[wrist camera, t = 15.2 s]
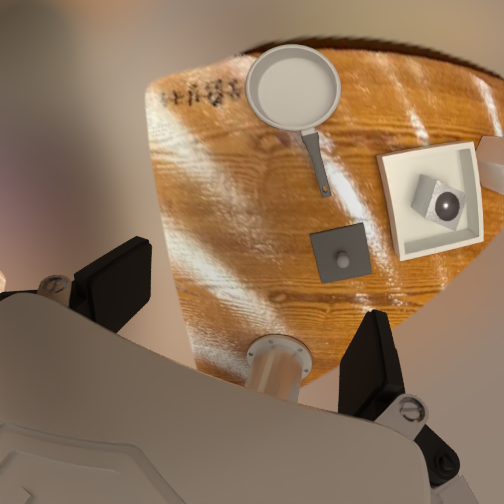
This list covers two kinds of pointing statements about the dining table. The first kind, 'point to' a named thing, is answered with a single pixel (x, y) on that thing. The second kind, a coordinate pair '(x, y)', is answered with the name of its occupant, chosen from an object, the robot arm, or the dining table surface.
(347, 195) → the dining table surface
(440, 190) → the metal block
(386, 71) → the dining table surface
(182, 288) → the dining table surface
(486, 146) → the jar
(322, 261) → the ball stud
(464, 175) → the bin
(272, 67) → the saucepan
